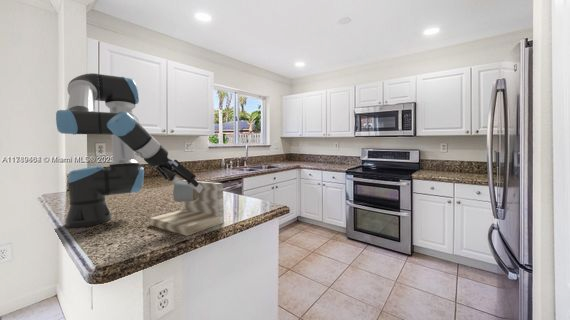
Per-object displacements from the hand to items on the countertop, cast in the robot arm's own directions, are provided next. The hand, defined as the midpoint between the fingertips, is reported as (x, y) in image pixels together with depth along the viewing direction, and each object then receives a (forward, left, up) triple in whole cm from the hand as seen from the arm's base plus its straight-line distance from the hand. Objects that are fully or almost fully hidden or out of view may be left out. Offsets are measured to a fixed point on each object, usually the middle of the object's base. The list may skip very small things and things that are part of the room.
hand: (192, 189), depth 99 cm
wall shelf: (0, -4, -14) cm, 14 cm away
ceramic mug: (-1, -2, -4) cm, 5 cm away
